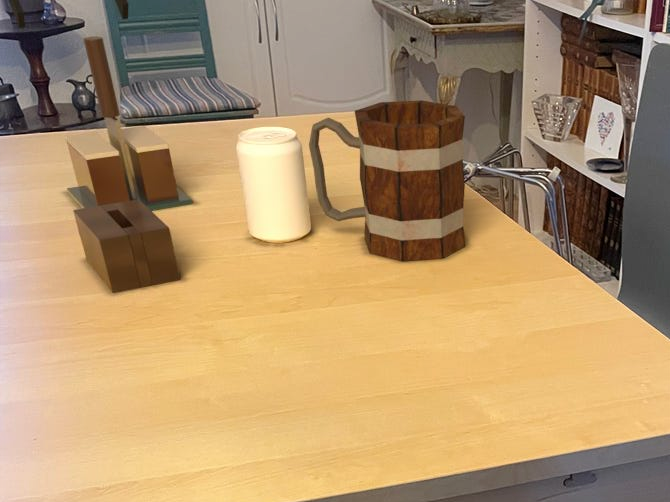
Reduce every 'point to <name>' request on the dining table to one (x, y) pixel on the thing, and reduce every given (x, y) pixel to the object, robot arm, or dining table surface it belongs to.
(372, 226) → the mug
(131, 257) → the knife block
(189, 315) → the dining table surface
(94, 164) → the twin slanted wooden posts
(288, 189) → the beverage can
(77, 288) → the dining table surface
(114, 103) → the knife
